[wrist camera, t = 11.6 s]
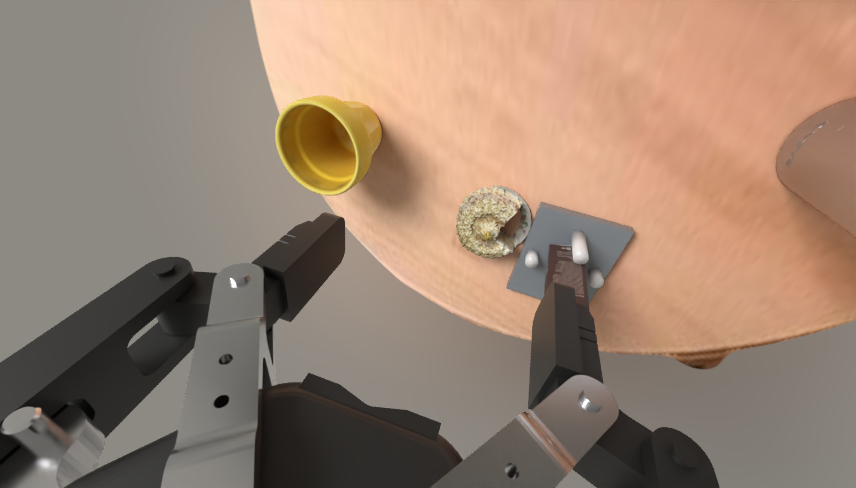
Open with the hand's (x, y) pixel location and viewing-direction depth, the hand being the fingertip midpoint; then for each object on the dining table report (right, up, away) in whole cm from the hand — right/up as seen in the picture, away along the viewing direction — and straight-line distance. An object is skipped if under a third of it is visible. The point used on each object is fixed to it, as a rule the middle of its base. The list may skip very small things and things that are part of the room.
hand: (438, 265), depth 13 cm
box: (+17, -2, +31) cm, 36 cm away
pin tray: (+18, -1, +32) cm, 37 cm away
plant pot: (-9, +16, +31) cm, 36 cm away
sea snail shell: (+8, +4, +33) cm, 34 cm away
